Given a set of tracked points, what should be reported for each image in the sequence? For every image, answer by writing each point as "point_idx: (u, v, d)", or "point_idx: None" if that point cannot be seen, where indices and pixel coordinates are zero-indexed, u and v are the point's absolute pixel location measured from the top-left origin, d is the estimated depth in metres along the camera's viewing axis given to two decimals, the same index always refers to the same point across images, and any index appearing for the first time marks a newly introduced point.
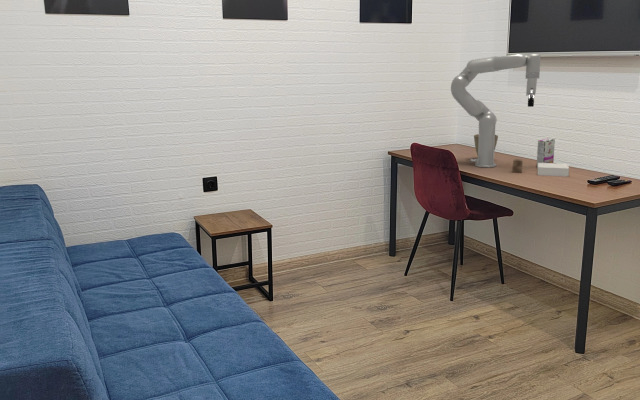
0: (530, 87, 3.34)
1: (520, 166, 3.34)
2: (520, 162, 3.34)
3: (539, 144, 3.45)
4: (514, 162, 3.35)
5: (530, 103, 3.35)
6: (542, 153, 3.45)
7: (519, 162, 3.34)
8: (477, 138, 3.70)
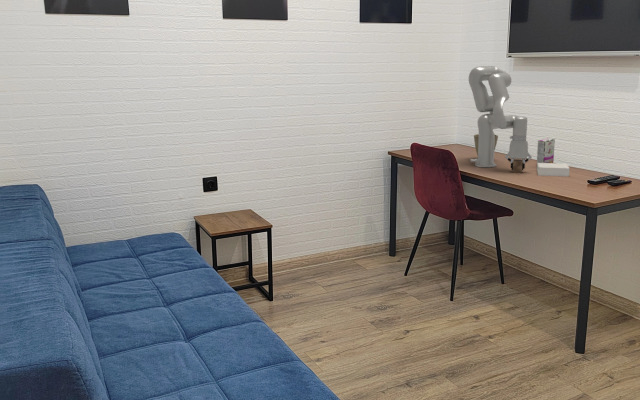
0: (527, 150, 3.33)
1: (520, 166, 3.34)
2: (520, 162, 3.34)
3: (539, 144, 3.45)
4: (514, 162, 3.35)
5: (524, 166, 3.36)
6: (542, 153, 3.45)
7: (519, 162, 3.34)
8: (477, 138, 3.70)
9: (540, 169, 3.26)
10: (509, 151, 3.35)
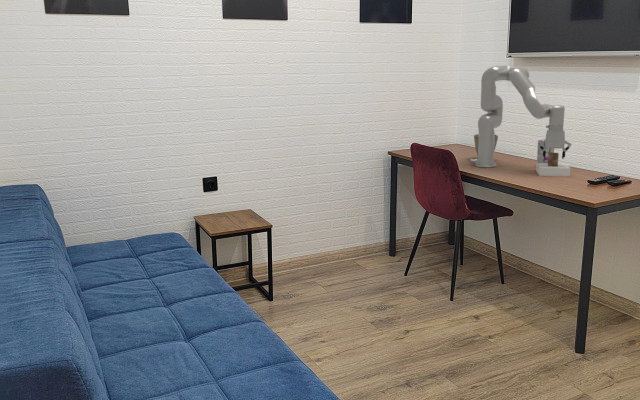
0: (564, 139, 3.25)
1: (556, 159, 3.27)
2: (556, 155, 3.26)
3: None
4: (550, 155, 3.27)
5: None
6: (542, 153, 3.45)
7: (555, 155, 3.26)
8: (477, 138, 3.70)
9: (541, 169, 3.26)
10: (545, 141, 3.27)
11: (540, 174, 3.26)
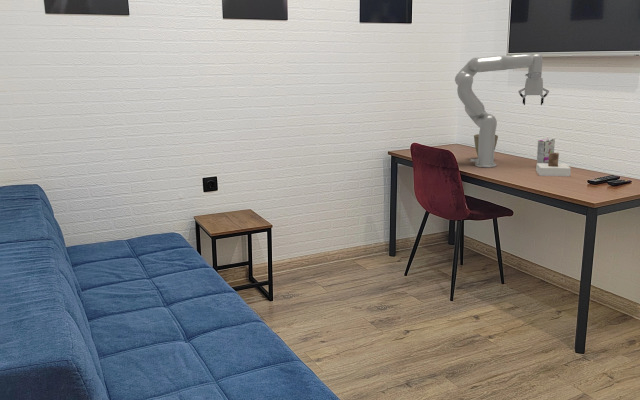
0: (542, 86, 3.45)
1: (556, 159, 3.27)
2: (556, 155, 3.26)
3: (539, 144, 3.45)
4: (550, 155, 3.27)
5: None
6: (542, 153, 3.45)
7: (556, 155, 3.26)
8: (477, 138, 3.70)
9: (541, 169, 3.25)
10: (525, 88, 3.47)
11: (540, 174, 3.26)
